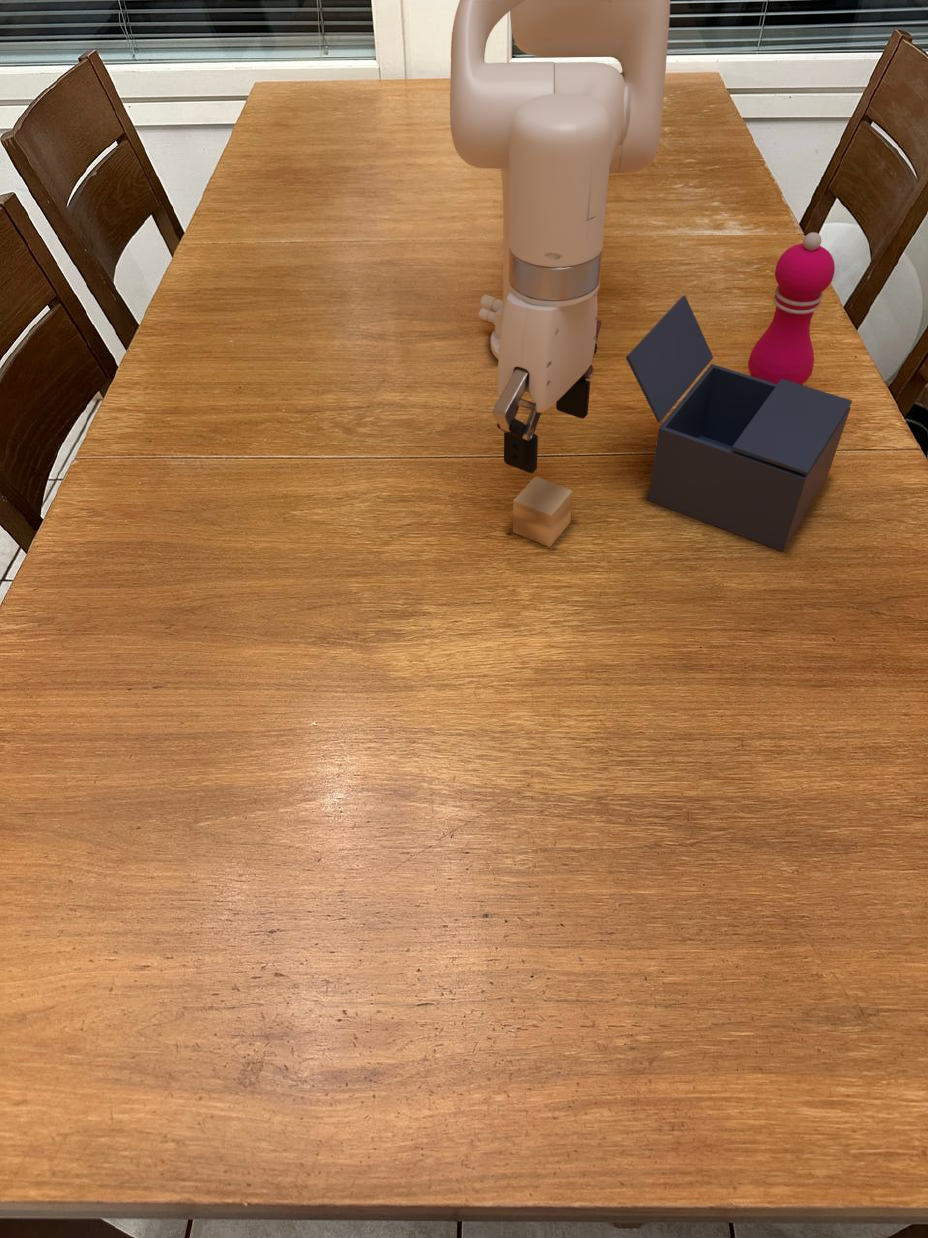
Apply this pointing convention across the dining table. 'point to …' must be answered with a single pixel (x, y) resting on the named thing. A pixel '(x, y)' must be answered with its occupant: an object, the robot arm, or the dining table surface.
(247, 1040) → the dining table surface
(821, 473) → the carton
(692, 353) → the flap
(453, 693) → the dining table surface
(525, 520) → the block
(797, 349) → the pepper mill
